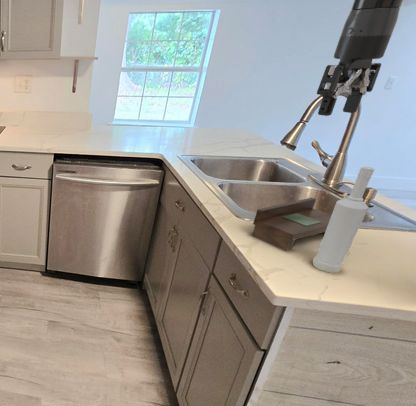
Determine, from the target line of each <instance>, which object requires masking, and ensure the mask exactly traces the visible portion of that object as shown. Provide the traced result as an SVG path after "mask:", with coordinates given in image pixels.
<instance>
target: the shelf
mask: <svg viewBox="0 0 416 406" xmlns="http://www.w3.org/2000/svg"><path fill="white" fill-rule="evenodd" d="M316 202H317V198H315V197H308V198H307V197H306V198H304V199H299V200H294V201H289V202H285V203H280V204H276V205H272V206H266V207H262V208H257V210H256V213H255V216H254V218H253V223H252V225H253V226H254V227H253V230H252V233H251V237H254V238H256V239H259V240H261V241H263V242H265V243H267V244H270V245H271V246H274V247H277V248H279V249H281V250H283V251H291V250H292V248H293V245H294V242H295V240H298V239H299V240H300V239H302V238H306V237H310V236H313V235H318V234H325V232H326V229H327V226H328V224H329V221H330V218H331V216H332V213H329V212H324V211H322V210H319V209H315V208H314V206H315V204H316Z"/></svg>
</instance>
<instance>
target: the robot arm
mask: <svg viewBox="0 0 416 406" xmlns="http://www.w3.org/2000/svg"><path fill="white" fill-rule="evenodd" d="M403 2H404V0H353V2H352V5H351V8H350V11H349V14H348V15H347V18H346V19H345V22H344V24H343V27H342V30H341V33H340V36H339V39H338V42H337V45H336V48H335V51H334V53H333V58H334V59H335V60H339V62H338V64H328V65H327V66H326V67H325V69H324V72H323V75H322V77H321V80H320V82H319V84H318V87H317V91H316V95H320V96H321V98H322V99H321V102H320V106H319V107H318V111H317V114H318V116H324V117H329V116H332V114H333V112H334V109H335V106H336V103H337V100H338V97H339V96H340V94H341V93H342V92H343V91H345V90H347V89H348V93H349V94H348V95H347V98H346V101H345V103H344V105H343V108H342V112H343V113H349V114H355V113H356V112H357V111H358V109H359V106H360V105H361V104H360V103H361V101H362V98H363V96H366V95H367V93H371V92H372V91H373V89H374V87H375V84H376V81H377V79H378V76H379V73H380V70H381V67H382V63H380V62H373V60H377V59H378V60H379V59H382V58H383V57H384V56H385V53H386V50H387V48H388V45H389V42H390V40H391V38H392V36H393V32H394V30H395V27H396V24H397V22H398V18H399V13H400V10H401V7H402V4H403Z"/></svg>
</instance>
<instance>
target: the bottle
mask: <svg viewBox="0 0 416 406" xmlns="http://www.w3.org/2000/svg"><path fill="white" fill-rule="evenodd" d="M374 171H375V168H374V167H369V166H361V167H360V168H359V171H358V173H357V177H356V180H355V182H354V184H353V187H352V189H351V191H350V194H348V195H347V196H346V197H345V198H341V199H338V200H337V201H336V202H335V205H334V207H333V211H332V213H331V215H332V216H331V218H330V221H329V224H328V226H327V229H326V232H325V233H323V234H324V235H323V237H322V240H321V243H320V245H319V248H318V250H317V254H316V255H315V256H314V257H313V260H312V265H313V267H315V268H316V269H318V270H320V271H322V272H326V273H330V274H331V273H332V274H337V273H339V272H340V271H342V268H343V267H344V264H343V262H344V260H345V259H346V256H347V254H348V252H349V250H350V248H351V246H352V243H353V241H354V240H355V237H356V235H357V233H358V231H359V229H360V227H361V225H362V224H363V223H362V222H363V221H364V218H365V217H366V215H367V212H368V210H369V206H368V205H367V204H366V203H365V202H364V198H363V196H364V194H365V191H366V189H367V187H368V185H369V182H370V180H371V178H372V176H373V174H374Z"/></svg>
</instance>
